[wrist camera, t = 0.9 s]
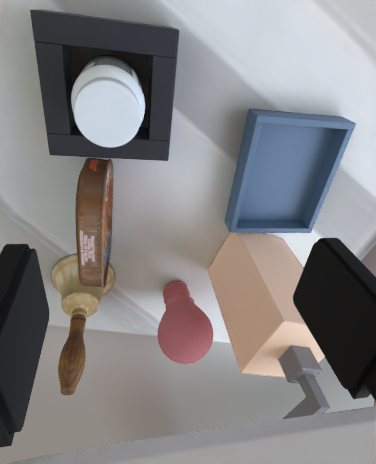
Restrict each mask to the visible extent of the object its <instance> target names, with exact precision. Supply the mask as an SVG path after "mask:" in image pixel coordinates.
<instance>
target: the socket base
mask: <svg viewBox="0 0 376 464" xmlns="http://www.w3.org/2000/svg"><path fill="white" fill-rule="evenodd" d="M30 12H31V19H32V27H33V34H34V41H35V49H36V56H37V63H38V71H39V78H40V86H41V93H42V100H43V108H44V115H45V122H46V130H47V138H48V145H49V152H50V155H60V156H81V157H101V158H122V159H142V160H163V161H168V156H169V145H170V133H171V121H172V110H173V98H174V87H175V75H176V64H177V52H178V40H179V30H178V29H175V28H172V27H165V26H157V25H150V24H143V23H135V22H128V21H121V20H114V19H106V18H99V17H92V16H84V15H77V14H70V13H62V12H55V11H48V10H30ZM70 46H77V47H85V48H94V49H102V50H111V51H119V52H128V53H136V54H145V55H150V56H149V79H148V103H147V126H146V127H139V129H138V132H137V133H136V135H135V136H134V137H133V138H132V139H131V140H130V141H129V142H127V143H126V144H124V145H122V146H118V147H103V146H99V145H97V144H95V143H93V142H91V141H90V140H88V139H87V138H86V137H85V136H84V135H83V134H82V133H81V131H80V130H79V128H78V126H77V124H76V122H75V119H74V113H73V109H72V103H71V93H72V89H73V80H72V68H71V56H70Z"/></svg>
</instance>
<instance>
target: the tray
mask: <svg viewBox="0 0 376 464" xmlns="http://www.w3.org/2000/svg"><path fill="white" fill-rule="evenodd" d="M355 125H356V123H354V122H352V121H350V120H347V119H345V118H343V117H336V116H324V115H313V114H302V113H290V112H279V111H267V110H256V109H249V112H248V117H247V122H246V126H245V131H244V135H243V140H242V144H241V149H240V154H239V158H238V163H237V167H236V172H235V176H234V181H233V185H232V190H231V195H230V199H229V204H228V208H227V213H226V217H225V224H226V225H227V228H228V230H229V232H230V233H311V231H312V228H313V226H314V224H315V221H316V219H317V216H318V214H319V211H320V209H321V207H322V204H323V202H324V199H325V197H326V195H327V192H328V190H329V187H330V185H331V182H332V180H333V178H334V175H335V173H336V170H337V168H338V166H339V163H340V161H341V158H342V156H343V153H344V151H345V149H346V146H347V144H348V141H349V139H350V137H351V134H352V132H353V130H354V127H355Z"/></svg>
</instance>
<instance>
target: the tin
mask: <svg viewBox="0 0 376 464" xmlns="http://www.w3.org/2000/svg"><path fill="white" fill-rule="evenodd" d="M112 202H113V163H112V160H111V159H109V160H104V159H95V158H88V159H86V161H85V164H84V166H83V169H82V170H81V172H80V175H79V179H78V185H77V194H76V237H77V257H78V272H79V280H80V283H81V284H82V285H83V286H91V287H102V288H105V286H106V281H107V276H108V268H109V259H110V252H111V234H112Z"/></svg>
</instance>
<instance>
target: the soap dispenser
mask: <svg viewBox="0 0 376 464" xmlns="http://www.w3.org/2000/svg"><path fill="white" fill-rule="evenodd" d="M303 269H304V268H303V267H302V265H301V264H300V262H299V261H298V259H297V258H296V257H295V255H294V254H293V252H292V251H291V249H290V248H289V246H288V245H287V244H286V242H285V241H284V239H281V238H277V237H274V236H270V235H267V234H263V233H229V235H228V236H227V238H226V240H225V241H224V243H223V245H222V246H221V248H220V250H219V252H218V253H217V255H216V257H215V258H214V260H213V262H212V264H211V265H210V267H209V269H208V273H209V276H210V279H211V282H212V285H213V289H214V292H215V295H216V298H217V301H218V304H219V307H220V310H221V313H222V317H223V320H224V323H225V326H226V329H227V332H228V335H229V338H230V342H231V344H232V348H233V351H234V354H235V357H236V360H237V363H238V366H239V370H240V372H241V373H244V374H255V375H266V376H276V377H286V379H287V381H288V382H290V383H299V384H300V385H301V387H302V389H303V391H304V393H305V395H306V398H305V399H304V400H303V401H301V403H299V404H298V405H297V406H296V407H295V408H294V409H293V410H292V411H291V412H289V413H288V414H287V415H286V416H285V417H284V418H283V419H288V418H295V417H302V416H309V415H316V414H323V413H325V412H326V411H327V410H328V409H329V408H330V406H329V404H328V402H327V401H326V398H325V396H324V395H323V393H322V391H321V389H320V387H319V385H318V383H317V381H316V379H315V377H316V376H317V375H318V374H319V373H320V372H321V370H322V369H321V367H320V365H319V364H318V363H319V361H321V360H322V359H323V358H324V357H325V356H324V354H323V353H322V351H321V349H320V347H319V346H318V344H317V342H316V341H315V339H314V337H313V336H312V334H311V332H310V331H309V329H308V327H307V325H306V324H305V322H304V320H303V319H302V317H301V315H300V314H299V312H298V310H297V309H296V307H295V305H294V303H293V294H294V292H295V289H296V287H297V284H298V282H299V279H300V277H301V274H302V272H303Z"/></svg>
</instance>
